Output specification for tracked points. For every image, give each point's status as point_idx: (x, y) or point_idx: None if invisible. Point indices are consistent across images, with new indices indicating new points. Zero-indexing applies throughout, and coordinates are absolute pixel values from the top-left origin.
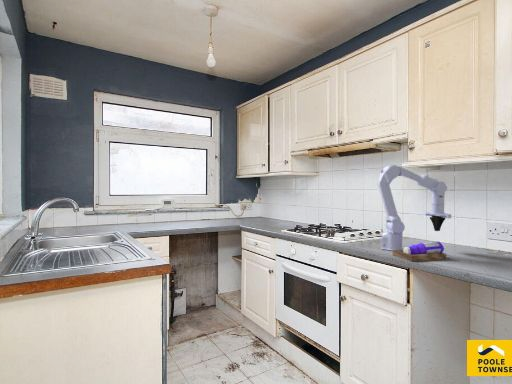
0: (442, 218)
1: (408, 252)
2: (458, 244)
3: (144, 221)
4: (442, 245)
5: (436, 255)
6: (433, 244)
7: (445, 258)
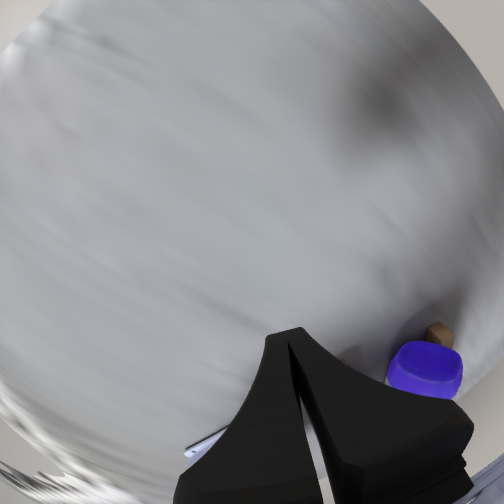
0: (448, 463)
1: None
2: (63, 6)
3: None
4: (462, 367)
5: None
6: None
7: (441, 327)
